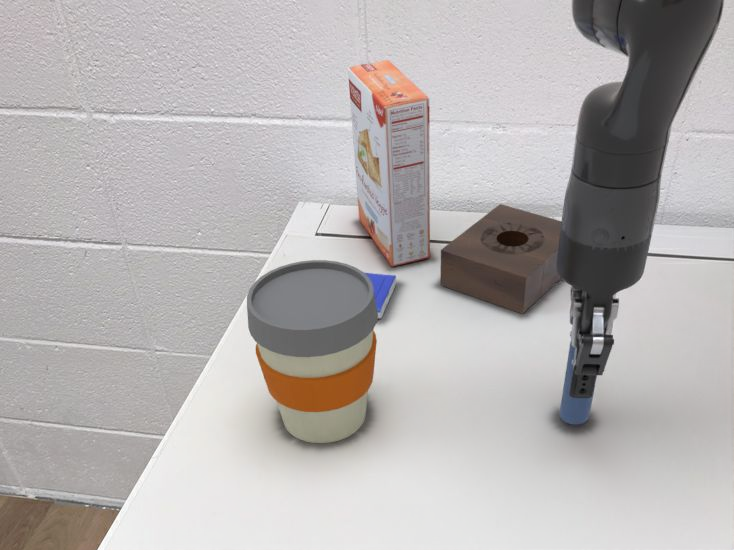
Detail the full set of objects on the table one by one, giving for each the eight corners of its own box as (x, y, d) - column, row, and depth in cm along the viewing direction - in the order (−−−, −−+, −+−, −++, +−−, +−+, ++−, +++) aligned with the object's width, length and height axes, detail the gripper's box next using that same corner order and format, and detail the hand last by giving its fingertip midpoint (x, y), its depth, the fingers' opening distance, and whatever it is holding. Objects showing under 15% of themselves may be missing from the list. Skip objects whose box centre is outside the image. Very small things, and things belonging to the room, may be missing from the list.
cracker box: (356, 222, 115) (345, 65, 100) (395, 213, 116) (391, 57, 101) (388, 269, 106) (382, 104, 91) (431, 259, 107) (432, 94, 92)
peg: (568, 402, 84) (579, 330, 78) (594, 412, 83) (608, 340, 76) (554, 417, 83) (564, 345, 76) (580, 428, 81) (593, 356, 75)
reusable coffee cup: (407, 412, 86) (404, 288, 75) (320, 473, 80) (304, 349, 69) (327, 365, 92) (314, 245, 81) (242, 418, 86) (216, 297, 76)
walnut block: (497, 238, 110) (500, 203, 106) (577, 263, 104) (583, 227, 100) (440, 285, 102) (440, 249, 99) (522, 314, 97) (526, 277, 93)
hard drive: (283, 299, 99) (380, 309, 97) (303, 265, 105) (396, 273, 102) (285, 310, 101) (380, 320, 98) (305, 275, 106) (396, 284, 103)
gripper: (663, 267, 62) (624, 433, 75) (645, 183, 72) (613, 343, 84) (564, 265, 63) (542, 429, 76) (559, 183, 73) (540, 341, 85)
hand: (579, 383), depth 80 cm, fingers closed on peg, 3 cm apart
